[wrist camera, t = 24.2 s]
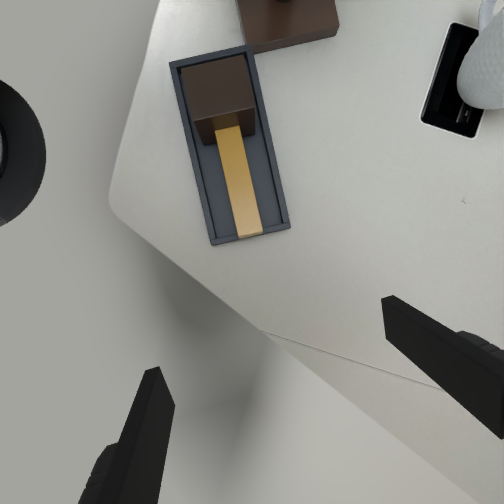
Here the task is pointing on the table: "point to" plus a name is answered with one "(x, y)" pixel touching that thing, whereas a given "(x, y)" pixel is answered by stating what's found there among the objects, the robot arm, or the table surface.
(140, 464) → the robot arm
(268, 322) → the table surface
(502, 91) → the mug
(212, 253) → the table surface
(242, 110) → the mallet
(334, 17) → the pedestal stand
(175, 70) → the tray
